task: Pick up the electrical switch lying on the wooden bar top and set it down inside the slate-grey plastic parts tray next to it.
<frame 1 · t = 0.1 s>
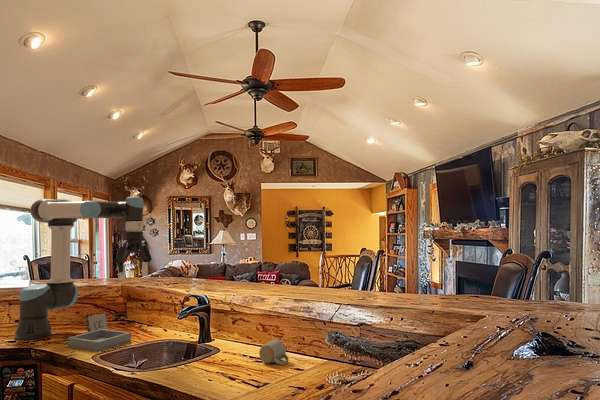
hand: (133, 277, 213), 28 cm above the table, tool pointing down, fingers open, 13 cm apart
ceramic mug: (275, 362, 178), on the table
electrical switch: (96, 334, 224), on the table
parts tray: (99, 344, 205), on the table
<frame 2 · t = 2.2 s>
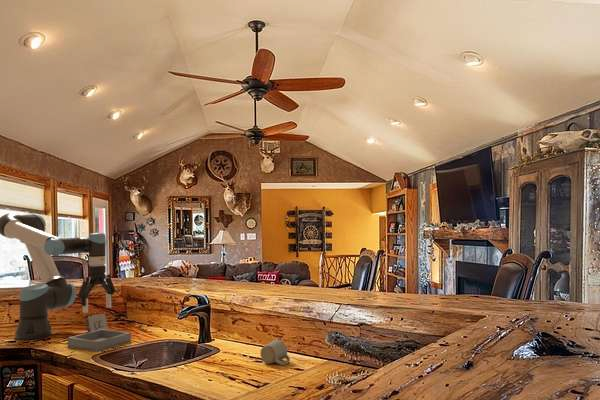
hand: (97, 310, 225), 11 cm above the table, tool pointing down, fingers open, 13 cm apart
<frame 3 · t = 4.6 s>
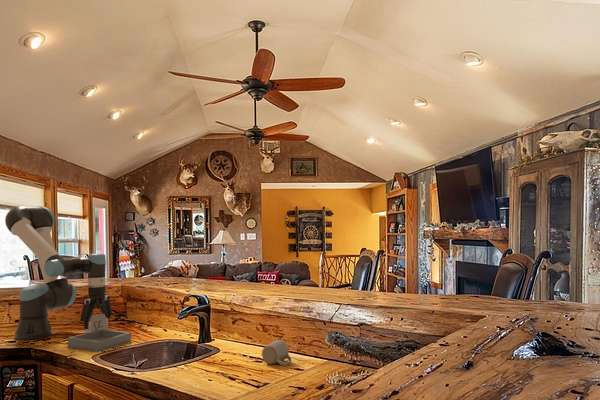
hand: (96, 333, 224), 0 cm above the table, tool pointing down, fingers closed on electrical switch, 9 cm apart
electrical switch: (96, 334, 224), on the table, touching gripper
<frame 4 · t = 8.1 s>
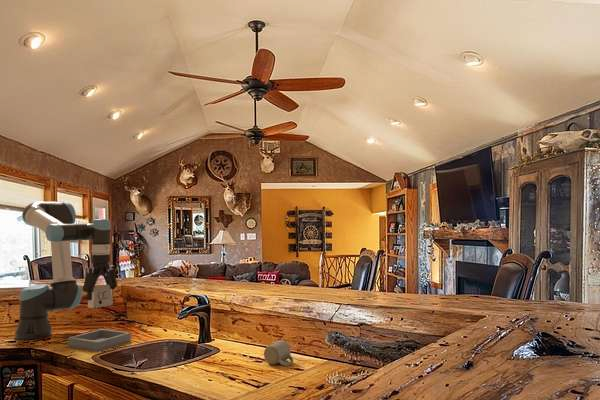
hand: (100, 305, 206), 17 cm above the table, tool pointing down, fingers closed on electrical switch, 9 cm apart
electrical switch: (100, 306, 206), point 16 cm above the table, touching gripper
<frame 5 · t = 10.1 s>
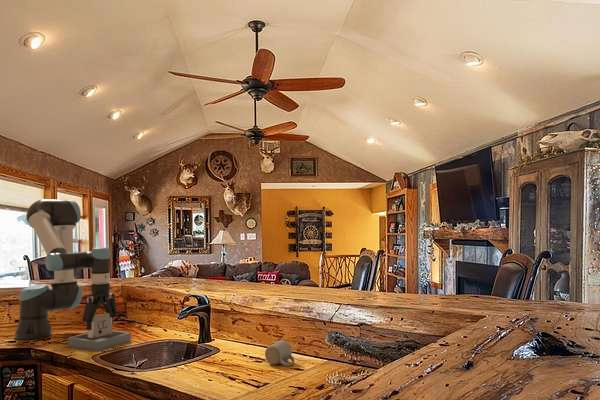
hand: (100, 334, 205), 4 cm above the table, tool pointing down, fingers closed on electrical switch, 9 cm apart
electrical switch: (99, 335, 205), point 4 cm above the table, touching gripper
when the fingers open (2 cm above the table, at t = 11.6 s): electrical switch stays where it is, resting on parts tray.
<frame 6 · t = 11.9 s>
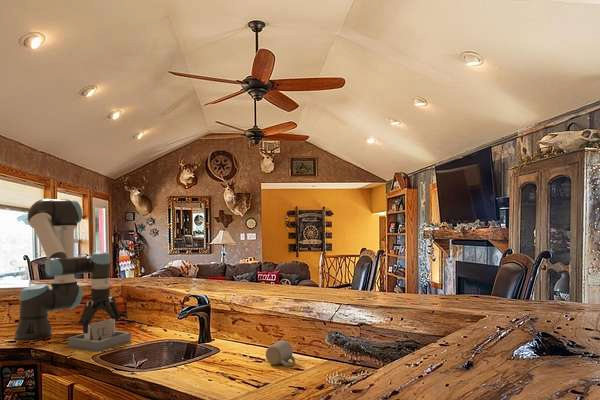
hand: (100, 337, 205), 3 cm above the table, tool pointing down, fingers open, 13 cm apart
electrical switch: (99, 343, 205), point 1 cm above the table, touching parts tray
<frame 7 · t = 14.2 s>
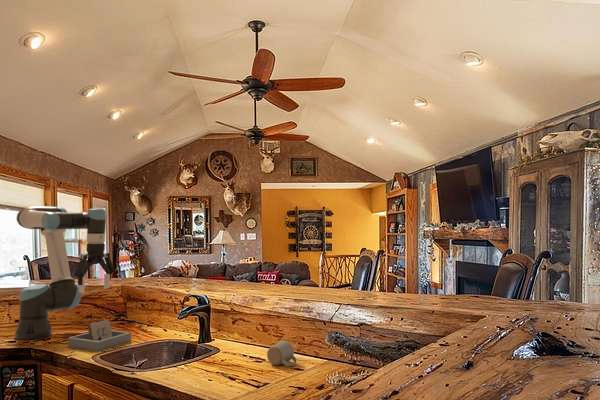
hand: (94, 290, 212), 23 cm above the table, tool pointing down, fingers open, 13 cm apart
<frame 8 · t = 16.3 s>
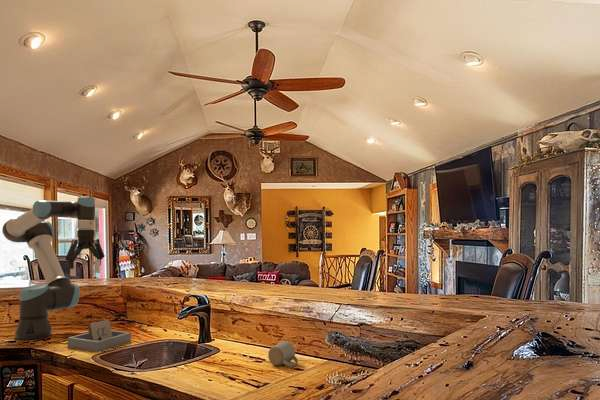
hand: (85, 274, 222), 29 cm above the table, tool pointing down, fingers open, 13 cm apart
at the end: electrical switch inside the target area on the parts tray (0.1 cm from its centre), point 0.6 cm above the parts tray's base; electrical switch tilted 0°; the gripper is holding nothing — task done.
